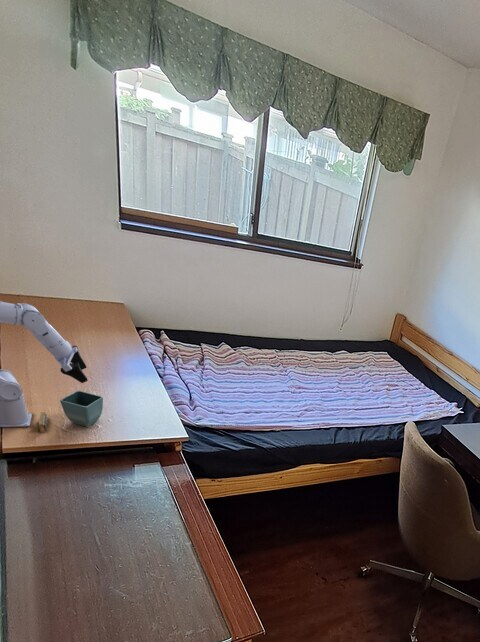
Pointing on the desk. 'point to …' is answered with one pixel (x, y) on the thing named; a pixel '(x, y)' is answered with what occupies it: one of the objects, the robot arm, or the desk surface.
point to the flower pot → (82, 407)
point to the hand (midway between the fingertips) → (84, 374)
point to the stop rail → (43, 422)
